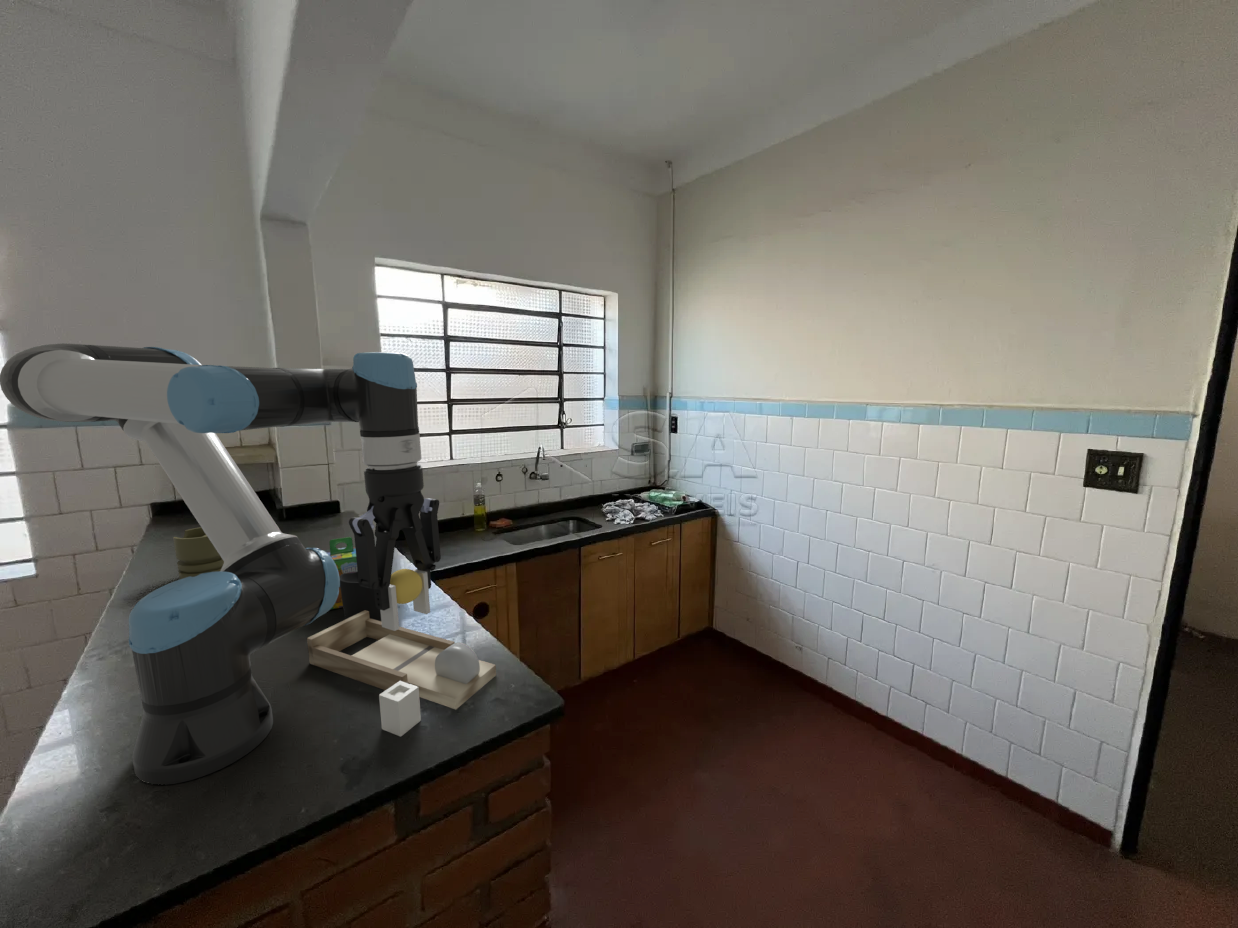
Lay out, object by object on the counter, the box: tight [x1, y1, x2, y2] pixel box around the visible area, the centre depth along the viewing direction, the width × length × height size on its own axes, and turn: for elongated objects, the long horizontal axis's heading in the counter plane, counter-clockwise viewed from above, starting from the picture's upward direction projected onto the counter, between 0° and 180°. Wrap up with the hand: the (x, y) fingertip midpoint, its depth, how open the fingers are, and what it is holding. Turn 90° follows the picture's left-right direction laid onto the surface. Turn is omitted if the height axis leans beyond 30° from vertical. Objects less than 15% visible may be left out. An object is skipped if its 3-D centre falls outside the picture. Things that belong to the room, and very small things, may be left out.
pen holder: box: [339, 571, 381, 621], centre depth 106 cm, size 9×9×10 cm
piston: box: [173, 526, 224, 580], centre depth 129 cm, size 11×12×11 cm
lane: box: [306, 610, 497, 710], centre depth 88 cm, size 12×33×5 cm, turn 66°
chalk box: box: [323, 536, 358, 611], centre depth 114 cm, size 9×9×15 cm
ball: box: [390, 568, 422, 605], centre depth 72 cm, size 5×5×5 cm
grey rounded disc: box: [435, 642, 480, 684], centre depth 83 cm, size 3×7×7 cm, turn 66°
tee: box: [378, 681, 422, 737], centre depth 73 cm, size 4×4×6 cm
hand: (406, 619), depth 73 cm, fingers closed on ball, 5 cm apart
